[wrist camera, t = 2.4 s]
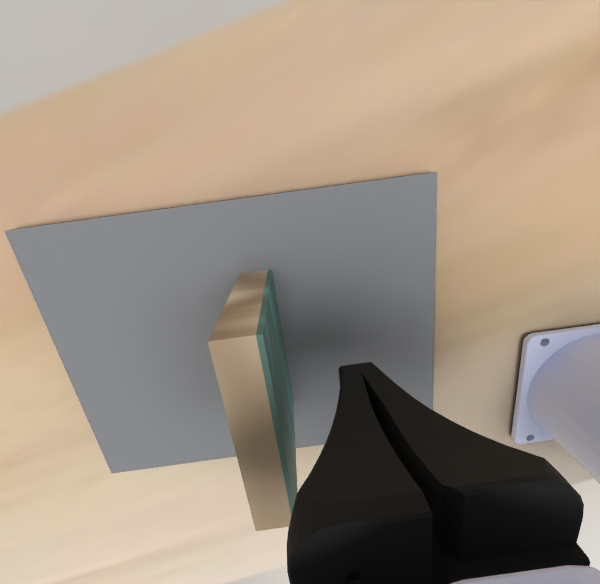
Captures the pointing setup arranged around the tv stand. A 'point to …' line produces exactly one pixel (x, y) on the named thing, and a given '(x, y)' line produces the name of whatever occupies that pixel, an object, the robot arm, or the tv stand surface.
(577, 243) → the tv stand surface
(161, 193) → the tv stand surface
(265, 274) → the tile
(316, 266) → the mat
